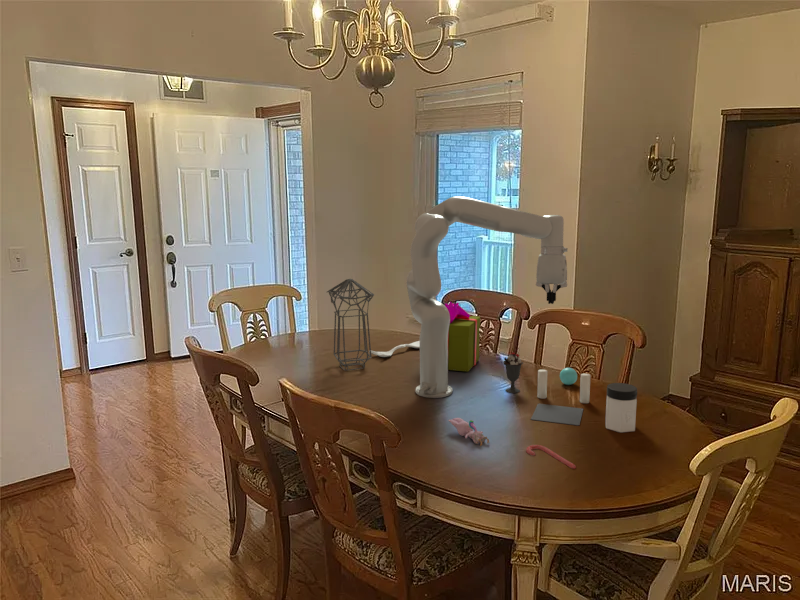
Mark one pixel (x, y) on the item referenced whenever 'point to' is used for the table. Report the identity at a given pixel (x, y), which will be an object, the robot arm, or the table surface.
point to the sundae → (513, 370)
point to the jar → (621, 407)
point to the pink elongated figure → (468, 430)
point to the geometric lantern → (368, 295)
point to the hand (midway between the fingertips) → (551, 303)
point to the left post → (542, 384)
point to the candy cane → (549, 454)
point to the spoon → (389, 353)
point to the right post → (584, 388)
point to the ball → (568, 376)
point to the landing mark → (557, 414)
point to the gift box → (462, 338)
